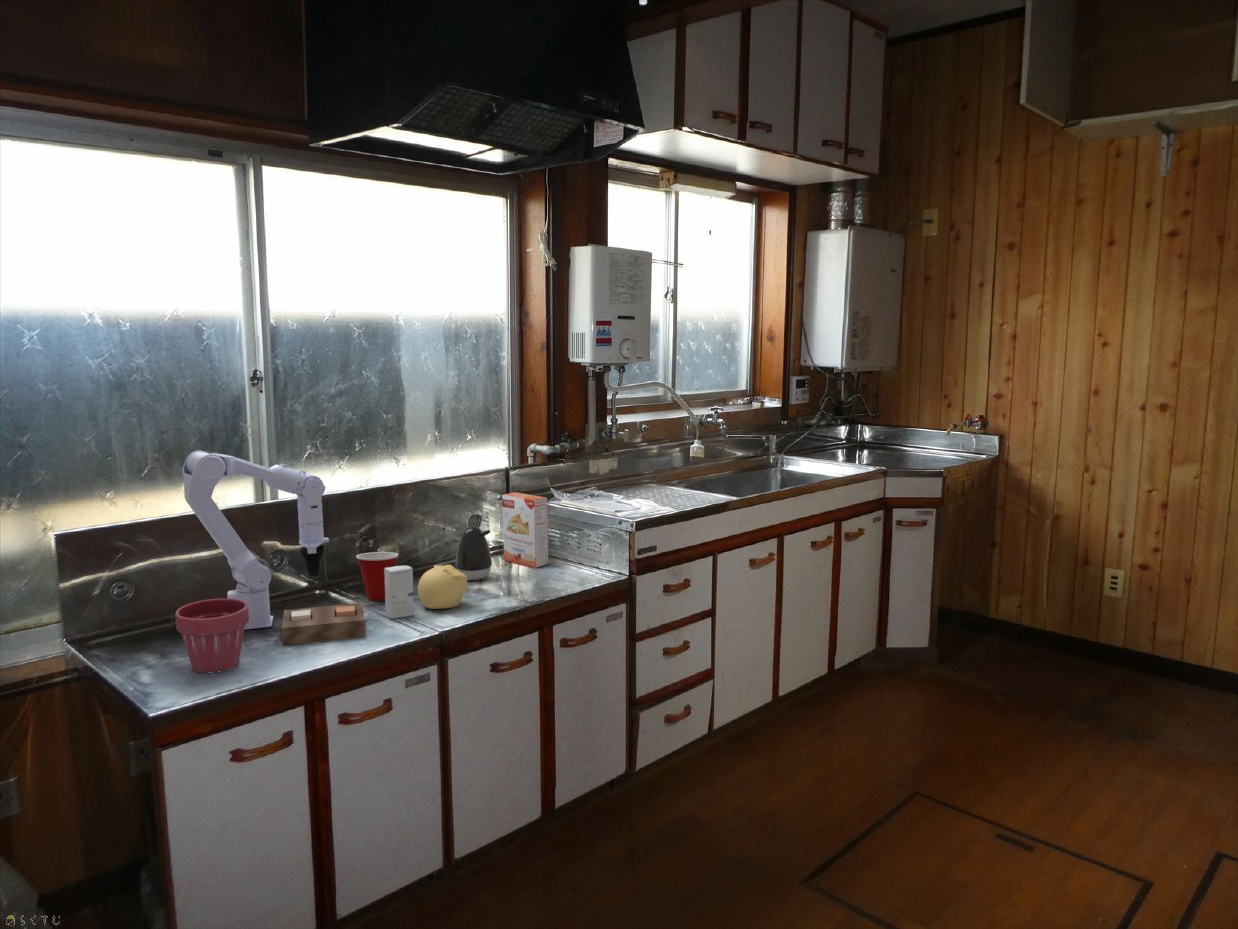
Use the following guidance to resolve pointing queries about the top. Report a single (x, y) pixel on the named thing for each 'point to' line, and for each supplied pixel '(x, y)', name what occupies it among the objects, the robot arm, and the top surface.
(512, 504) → the cracker box
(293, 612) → the cream key
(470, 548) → the pump dispenser
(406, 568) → the skincare box
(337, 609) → the terracotta key
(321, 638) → the walnut panel
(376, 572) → the plastic cup
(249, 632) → the top surface
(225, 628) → the plant pot
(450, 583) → the sculpture
